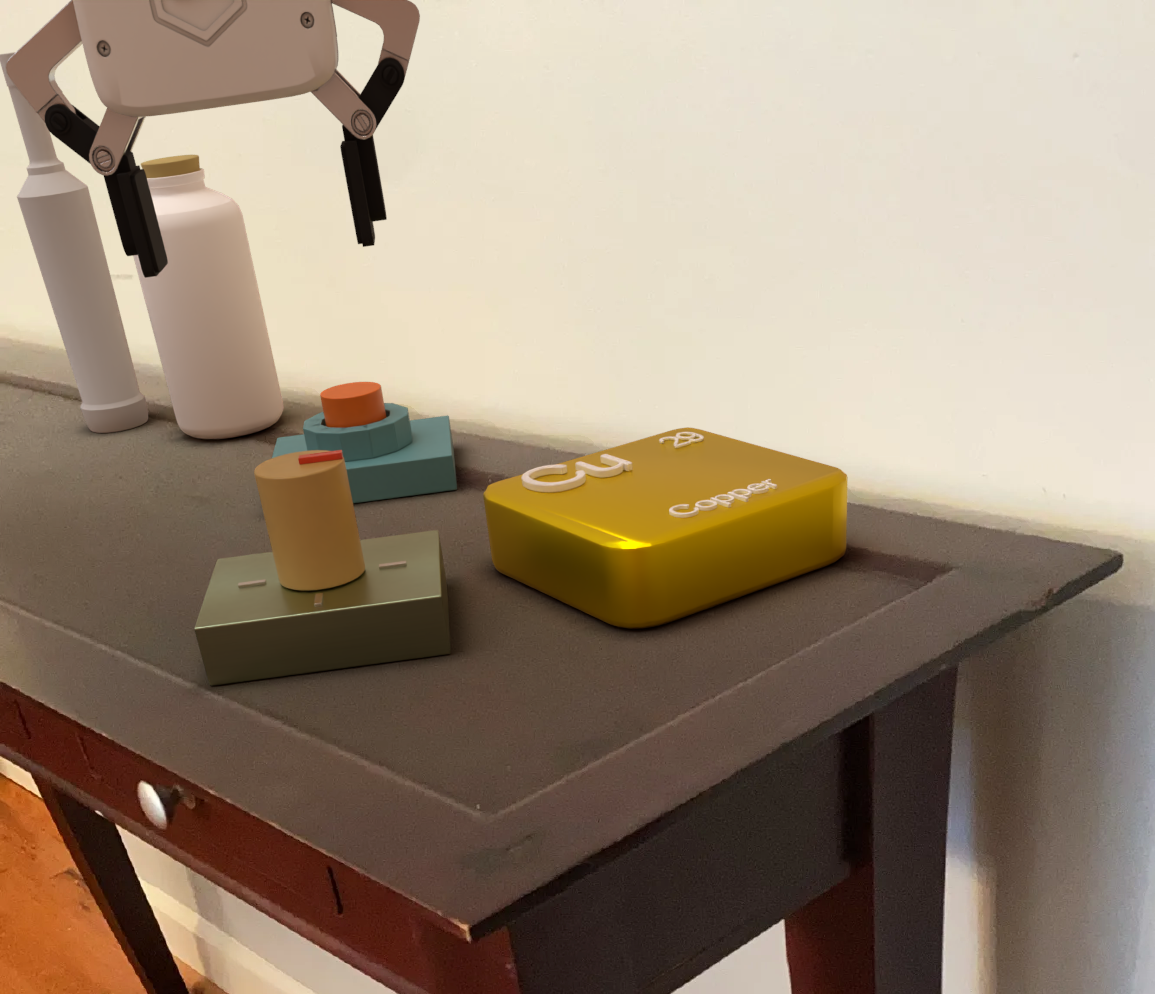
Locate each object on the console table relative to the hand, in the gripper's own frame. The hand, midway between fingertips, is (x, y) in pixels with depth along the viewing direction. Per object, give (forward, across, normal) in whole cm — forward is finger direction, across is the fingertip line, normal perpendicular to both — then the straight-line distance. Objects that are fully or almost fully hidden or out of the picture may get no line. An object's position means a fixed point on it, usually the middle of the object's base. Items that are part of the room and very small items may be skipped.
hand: (262, 256), depth 64 cm
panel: (+17, 0, -1) cm, 17 cm away
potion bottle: (+17, -10, +45) cm, 49 cm away
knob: (+14, 0, -1) cm, 14 cm away
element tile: (+18, +18, +3) cm, 25 cm away
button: (+13, +1, +26) cm, 29 cm away
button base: (+17, +1, +26) cm, 31 cm away
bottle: (+17, -20, +51) cm, 57 cm away
